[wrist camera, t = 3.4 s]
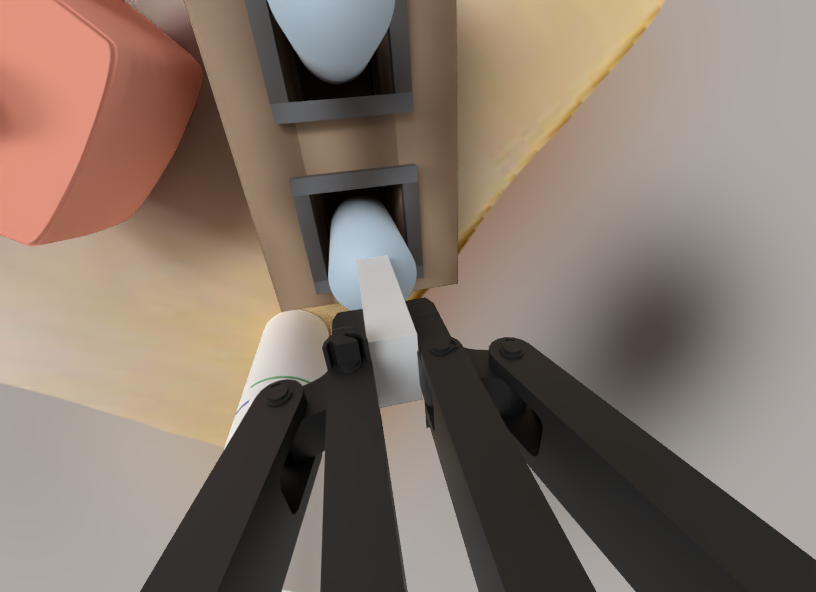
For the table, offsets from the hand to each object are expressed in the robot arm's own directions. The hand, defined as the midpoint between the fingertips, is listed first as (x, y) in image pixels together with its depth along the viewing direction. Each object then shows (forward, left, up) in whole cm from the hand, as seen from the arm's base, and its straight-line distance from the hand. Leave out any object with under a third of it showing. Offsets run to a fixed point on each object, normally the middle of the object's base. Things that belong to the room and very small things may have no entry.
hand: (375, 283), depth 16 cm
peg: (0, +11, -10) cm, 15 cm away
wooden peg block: (0, +6, -19) cm, 19 cm away
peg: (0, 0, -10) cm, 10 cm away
